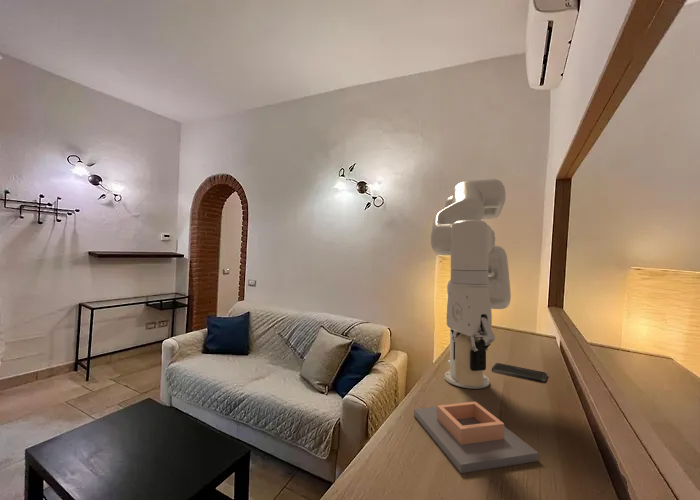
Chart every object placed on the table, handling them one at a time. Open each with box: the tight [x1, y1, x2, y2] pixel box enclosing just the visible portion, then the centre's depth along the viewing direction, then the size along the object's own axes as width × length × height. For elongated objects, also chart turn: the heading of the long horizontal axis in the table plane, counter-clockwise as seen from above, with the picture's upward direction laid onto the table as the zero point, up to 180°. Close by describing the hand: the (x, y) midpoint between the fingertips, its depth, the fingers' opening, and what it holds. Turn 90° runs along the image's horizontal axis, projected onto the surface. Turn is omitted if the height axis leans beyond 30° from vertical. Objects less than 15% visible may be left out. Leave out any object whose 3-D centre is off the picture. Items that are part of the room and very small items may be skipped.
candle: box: [455, 334, 483, 386], centre depth 67 cm, size 6×6×10 cm
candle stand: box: [413, 401, 540, 474], centre depth 67 cm, size 20×16×4 cm
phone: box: [491, 362, 548, 383], centre depth 102 cm, size 8×1×15 cm
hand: (468, 363), depth 67 cm, fingers closed on candle, 5 cm apart
